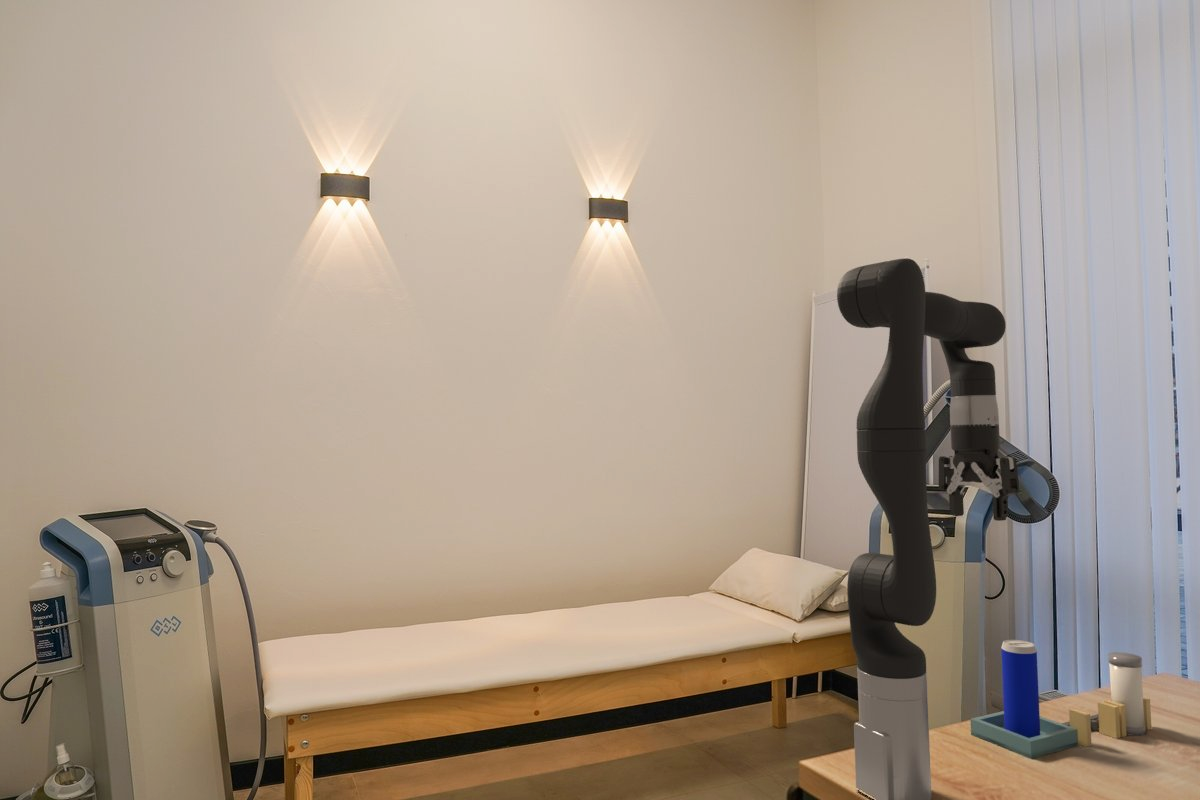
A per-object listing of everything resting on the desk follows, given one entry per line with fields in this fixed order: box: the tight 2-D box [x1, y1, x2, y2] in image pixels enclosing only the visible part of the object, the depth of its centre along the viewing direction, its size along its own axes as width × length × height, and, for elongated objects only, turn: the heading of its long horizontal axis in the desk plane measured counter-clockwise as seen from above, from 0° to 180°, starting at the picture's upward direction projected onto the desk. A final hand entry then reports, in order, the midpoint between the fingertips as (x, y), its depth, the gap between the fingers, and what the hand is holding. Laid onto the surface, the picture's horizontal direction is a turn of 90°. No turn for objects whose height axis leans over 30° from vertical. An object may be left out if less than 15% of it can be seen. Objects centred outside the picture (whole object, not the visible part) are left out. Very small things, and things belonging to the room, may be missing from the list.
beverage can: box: [1000, 639, 1040, 738], centre depth 128 cm, size 5×5×15 cm
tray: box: [970, 710, 1079, 759], centre depth 128 cm, size 11×11×3 cm
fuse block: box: [1061, 696, 1152, 747], centre depth 130 cm, size 17×6×5 cm, turn 114°
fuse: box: [1107, 652, 1146, 736], centre depth 131 cm, size 5×5×12 cm
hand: (978, 518), depth 133 cm, fingers open, 8 cm apart
